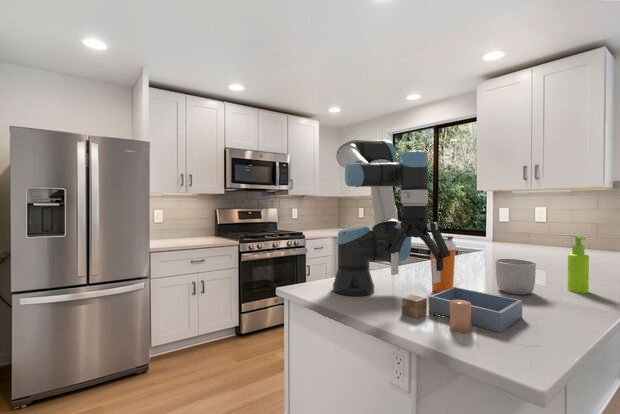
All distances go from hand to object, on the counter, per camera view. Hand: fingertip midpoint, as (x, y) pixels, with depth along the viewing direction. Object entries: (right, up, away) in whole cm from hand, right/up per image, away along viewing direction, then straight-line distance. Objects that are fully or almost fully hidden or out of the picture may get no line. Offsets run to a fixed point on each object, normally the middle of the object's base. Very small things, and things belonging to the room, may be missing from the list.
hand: (414, 278), depth 96 cm
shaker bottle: (+18, -10, +25) cm, 33 cm away
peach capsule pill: (+8, -11, -11) cm, 18 cm away
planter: (+44, -10, +23) cm, 51 cm away
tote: (+17, -11, -1) cm, 20 cm away
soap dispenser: (+66, -10, +23) cm, 71 cm away
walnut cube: (0, -11, +1) cm, 11 cm away
